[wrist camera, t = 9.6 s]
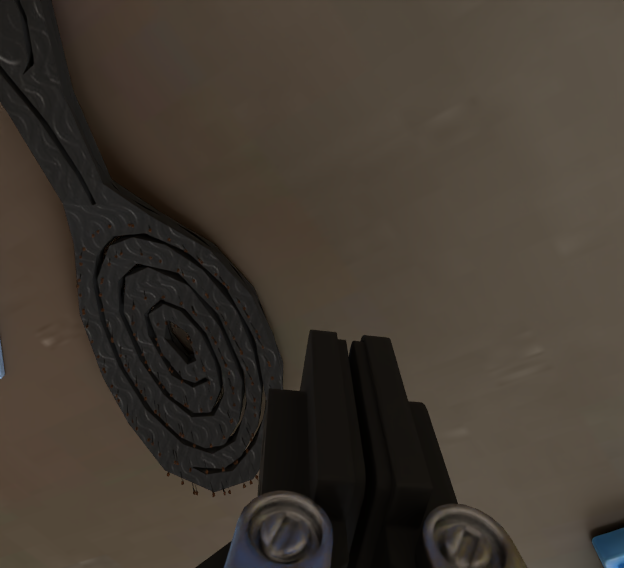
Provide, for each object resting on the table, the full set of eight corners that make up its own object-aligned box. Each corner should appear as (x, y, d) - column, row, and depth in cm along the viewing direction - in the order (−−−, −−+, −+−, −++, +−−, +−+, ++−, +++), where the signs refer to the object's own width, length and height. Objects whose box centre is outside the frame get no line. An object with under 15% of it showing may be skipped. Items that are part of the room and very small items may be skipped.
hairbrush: (27, -192, 14) (314, 482, 24) (82, -146, 18) (314, 428, 27) (-222, -79, 16) (146, 523, 25) (-125, -55, 19) (166, 467, 28)
